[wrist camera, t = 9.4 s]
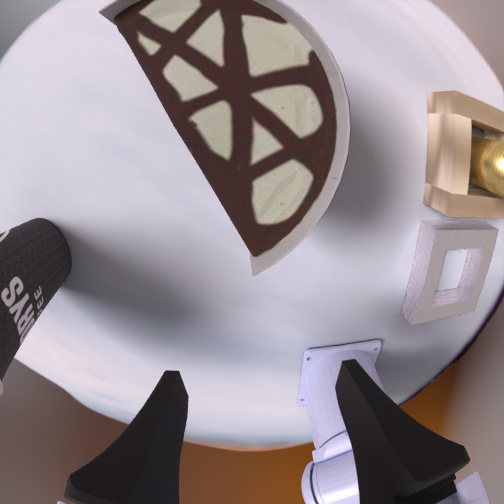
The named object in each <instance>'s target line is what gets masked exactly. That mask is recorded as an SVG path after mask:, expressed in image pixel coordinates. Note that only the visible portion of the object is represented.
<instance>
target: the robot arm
mask: <svg viewBox="0 0 504 504" xmlns="http://www.w3.org/2000/svg"><path fill="white" fill-rule="evenodd" d="M381 345H382V343H381V341H380V340H373V341H367V342H361V343H354V344H347V345H340V346H332V347H324V348H315V349H308V350H306V351H305V352H304V356H303V364H302V373H301V381H300V388H299V396H298V406H307V410H308V415H309V420H310V425H311V431H312V436H313V442H314V445H315V448H316V450H315V451H313V452H312V454H313V459H314V461H312V462H310V463H309V464H308V465H307V467H306V468H305V471H304V474H303V476H302V493H303V497H304V500H305V503H306V504H489V501H488V498H487V495H486V492H485V489H484V487H483V484H482V481H481V479H480V477H479V474H478V471H475V472H474V473H472V474H471V475H469V476H467V477H466V478H464V479H463V480H461V481H460V482H458V483H456V484H454V481H453V480H455V479H456V476H455V474H454V473H456V472H457V471H459V470H460V469H461V468H463V467H464V466H465V465H466V464H468V463H469V461H470V458H469V456H468V454H467V451H466V449H465V448H464V446H462V445H460V444H458V443H455V442H453V441H450V440H448V439H446V438H444V437H442V436H440V435H438V434H436V433H434V432H433V431H431V430H430V429H428V428H426V427H425V426H423V425H421V424H420V423H419V422H417V421H416V420H415V419H413V418H412V417H411V416H409V415H408V414H407V413H405V412H404V411H403V410H402V409H401V408H400V407H399V406H398V405H397V404H396V403H395V402H393V401H392V400H391V399H390V398H389V397H388V396H387V394H386V392H385V389H384V387H383V385H382V383H381V380H380V378H379V376H378V374H377V372H376V369H375V367H374V365H375V363H376V360H377V357H378V354H379V351H380V348H381ZM308 357H310V358H308ZM187 414H188V394H187V391H186V389H185V386H184V383H183V381H182V378H181V375H180V372H179V371H168V370H166V371H165V372H164V374H163V375H162V377H161V379H160V380H159V382H158V384H157V386H156V387H155V389H154V390H153V392H152V394H151V395H150V397H149V398H148V400H147V401H146V403H145V404H144V406H143V407H142V409H141V410H140V411H139V413H138V414H137V415H136V417H135V418H134V419H133V421H132V422H131V423H130V424H129V426H128V427H127V428H126V429H125V430H124V431H123V432H122V434H121V435H120V436H119V437H118V438H117V439H116V440H115V441H114V442H113V443H112V444H111V445H110V446H109V447H108V448H106V449H105V450H104V451H103V452H102V453H101V454H99V455H98V456H97V457H95V458H94V459H93V460H92V461H90V462H89V463H88V464H86V465H85V466H83V467H81V468H80V469H78V470H77V471H75V472H74V473H72V474H70V477H69V479H68V482H67V486H66V490H65V494H64V496H65V498H67V499H69V500H70V501H72V502H74V503H76V504H179V464H180V455H181V449H182V443H183V438H184V432H185V427H186V421H187ZM57 504H65V503H63V502H61V501H58V502H57Z"/></svg>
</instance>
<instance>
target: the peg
mask: <svg viewBox="0 0 504 504" xmlns="http://www.w3.org/2000/svg"><path fill="white" fill-rule="evenodd" d="M469 183H471V184H474V185H476V186H479V187H481V188H484V189H486V190H489V191H491V192H494V193H496V194H498V195H501V196H503V197H504V142H500V141H495V140H490V139H485V138H479V137H473V136H471V160H470V173H469Z"/></svg>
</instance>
